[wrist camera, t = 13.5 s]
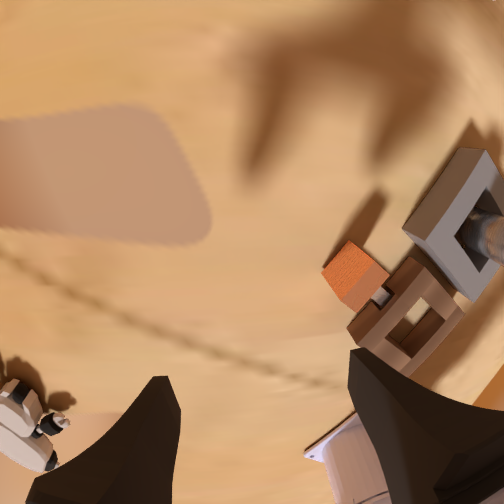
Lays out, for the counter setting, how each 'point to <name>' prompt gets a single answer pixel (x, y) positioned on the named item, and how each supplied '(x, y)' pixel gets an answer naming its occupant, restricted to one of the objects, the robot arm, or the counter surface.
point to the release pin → (356, 278)
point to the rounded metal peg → (483, 234)
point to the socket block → (383, 321)
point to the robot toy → (27, 428)
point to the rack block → (458, 219)
